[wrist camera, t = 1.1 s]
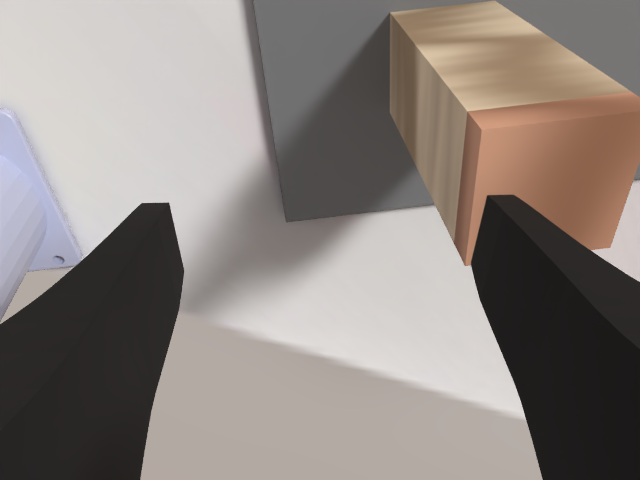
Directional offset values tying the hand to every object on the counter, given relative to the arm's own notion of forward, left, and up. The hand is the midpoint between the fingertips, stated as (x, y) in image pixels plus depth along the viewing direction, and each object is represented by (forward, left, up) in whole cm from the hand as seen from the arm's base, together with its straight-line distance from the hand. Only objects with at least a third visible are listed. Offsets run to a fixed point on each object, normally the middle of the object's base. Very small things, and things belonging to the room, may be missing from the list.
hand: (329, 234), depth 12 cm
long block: (+6, 0, -11) cm, 12 cm away
